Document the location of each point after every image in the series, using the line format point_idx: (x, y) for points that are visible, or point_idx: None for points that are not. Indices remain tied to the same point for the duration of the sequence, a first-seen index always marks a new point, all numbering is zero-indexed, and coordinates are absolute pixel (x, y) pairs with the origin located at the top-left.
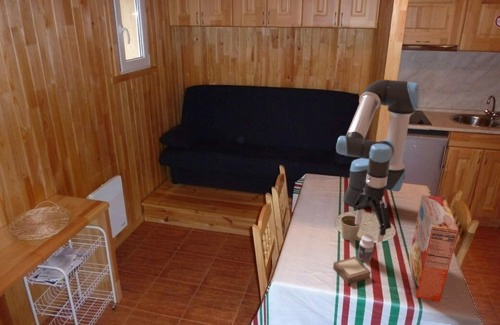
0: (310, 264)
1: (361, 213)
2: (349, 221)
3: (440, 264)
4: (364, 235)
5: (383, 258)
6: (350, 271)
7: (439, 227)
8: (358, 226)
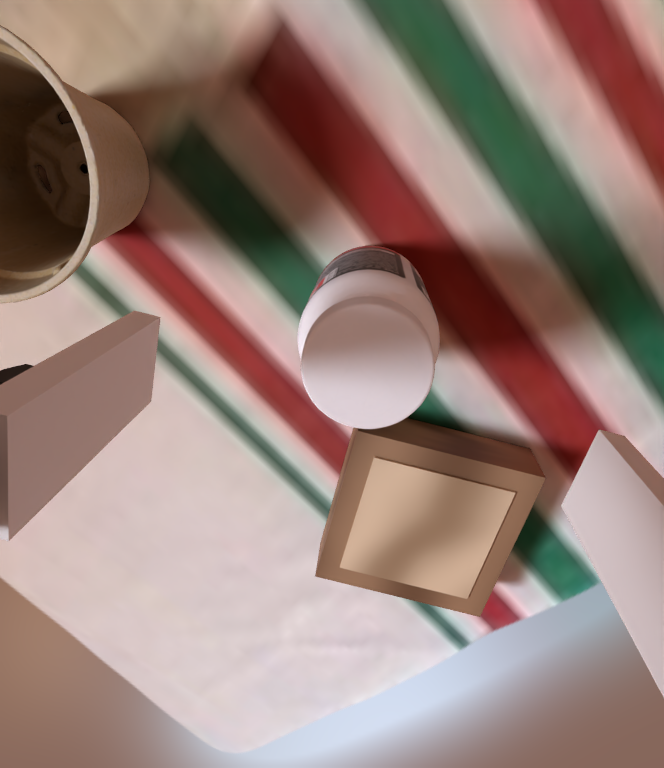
0: (219, 601)
1: (61, 405)
2: None
3: None
4: (312, 359)
5: (475, 173)
6: (448, 572)
7: None
8: (101, 188)
